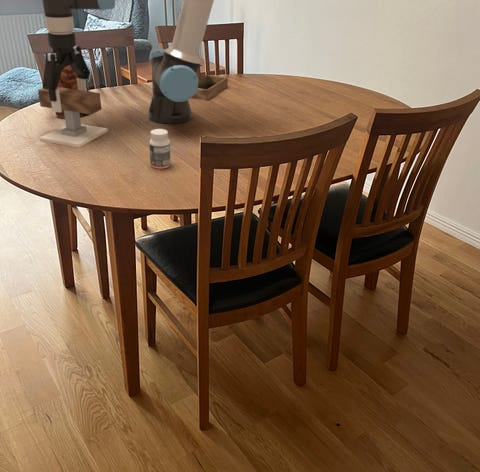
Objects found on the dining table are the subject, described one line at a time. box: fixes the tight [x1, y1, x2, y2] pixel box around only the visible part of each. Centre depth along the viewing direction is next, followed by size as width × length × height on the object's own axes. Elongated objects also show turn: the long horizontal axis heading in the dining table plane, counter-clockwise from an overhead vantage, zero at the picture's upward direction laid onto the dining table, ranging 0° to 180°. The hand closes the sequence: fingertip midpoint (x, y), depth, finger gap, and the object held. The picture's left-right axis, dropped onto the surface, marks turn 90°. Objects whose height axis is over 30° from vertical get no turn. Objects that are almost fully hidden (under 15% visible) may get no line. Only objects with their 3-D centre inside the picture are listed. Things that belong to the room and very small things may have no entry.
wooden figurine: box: [55, 65, 89, 120], centre depth 173 cm, size 12×6×18 cm, turn 134°
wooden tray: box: [190, 74, 229, 102], centre depth 210 cm, size 15×22×4 cm
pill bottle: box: [148, 128, 172, 170], centre depth 141 cm, size 6×6×10 cm
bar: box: [37, 87, 102, 115], centre depth 155 cm, size 18×6×5 cm, turn 71°
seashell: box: [197, 72, 216, 89], centre depth 211 cm, size 16×9×7 cm, turn 138°
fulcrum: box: [39, 110, 109, 149], centre depth 159 cm, size 14×16×9 cm
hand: (70, 105), depth 156 cm, fingers open, 13 cm apart
